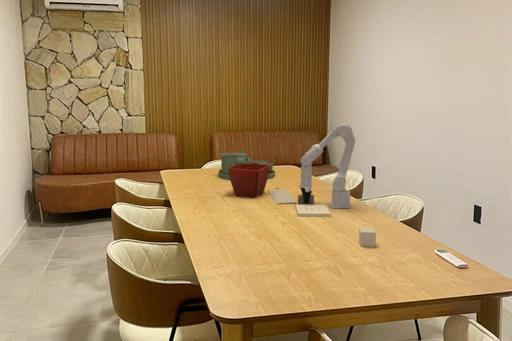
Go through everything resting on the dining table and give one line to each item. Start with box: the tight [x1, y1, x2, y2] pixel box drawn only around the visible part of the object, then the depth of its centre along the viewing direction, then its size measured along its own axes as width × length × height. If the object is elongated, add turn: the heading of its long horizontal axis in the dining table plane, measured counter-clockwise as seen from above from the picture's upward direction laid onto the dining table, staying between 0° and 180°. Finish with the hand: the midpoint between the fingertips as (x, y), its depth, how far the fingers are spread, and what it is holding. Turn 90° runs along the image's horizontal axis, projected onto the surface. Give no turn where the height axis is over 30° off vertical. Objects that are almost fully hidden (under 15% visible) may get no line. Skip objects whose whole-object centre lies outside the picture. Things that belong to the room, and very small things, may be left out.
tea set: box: [217, 151, 276, 181], centre depth 343 cm, size 40×40×16 cm
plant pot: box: [228, 163, 270, 198], centre depth 285 cm, size 19×19×17 cm
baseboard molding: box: [266, 187, 297, 206], centre depth 279 cm, size 31×3×12 cm
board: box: [294, 204, 332, 218], centre depth 249 cm, size 16×18×2 cm
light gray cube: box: [358, 227, 377, 248], centre depth 199 cm, size 6×6×6 cm
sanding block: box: [297, 194, 315, 205], centre depth 263 cm, size 8×5×5 cm, turn 91°
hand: (305, 202), depth 264 cm, fingers open, 5 cm apart
